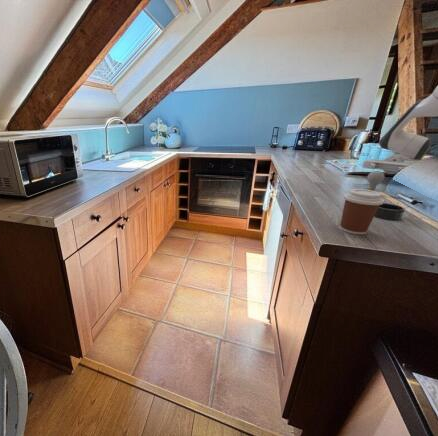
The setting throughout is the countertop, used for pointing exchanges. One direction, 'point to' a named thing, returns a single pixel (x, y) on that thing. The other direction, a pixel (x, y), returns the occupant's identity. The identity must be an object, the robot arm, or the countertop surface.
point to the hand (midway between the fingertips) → (385, 168)
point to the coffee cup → (359, 210)
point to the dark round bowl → (389, 212)
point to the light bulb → (375, 179)
